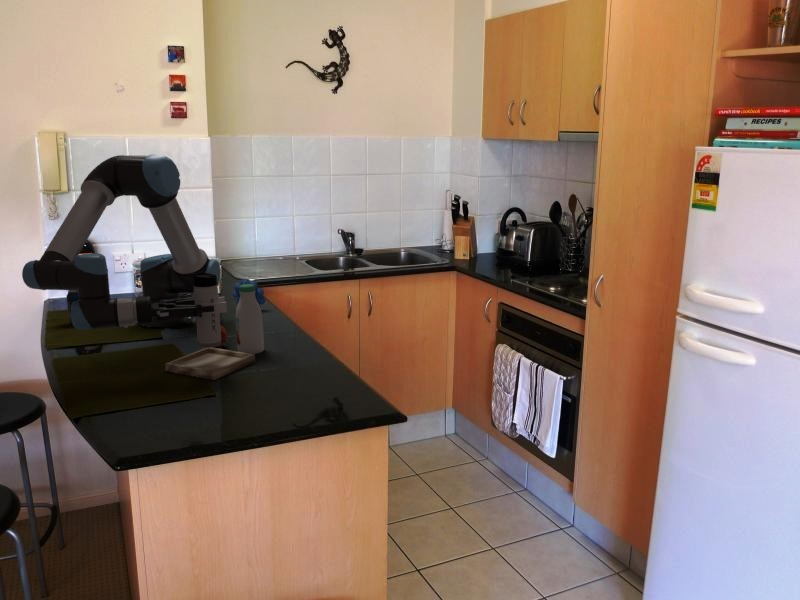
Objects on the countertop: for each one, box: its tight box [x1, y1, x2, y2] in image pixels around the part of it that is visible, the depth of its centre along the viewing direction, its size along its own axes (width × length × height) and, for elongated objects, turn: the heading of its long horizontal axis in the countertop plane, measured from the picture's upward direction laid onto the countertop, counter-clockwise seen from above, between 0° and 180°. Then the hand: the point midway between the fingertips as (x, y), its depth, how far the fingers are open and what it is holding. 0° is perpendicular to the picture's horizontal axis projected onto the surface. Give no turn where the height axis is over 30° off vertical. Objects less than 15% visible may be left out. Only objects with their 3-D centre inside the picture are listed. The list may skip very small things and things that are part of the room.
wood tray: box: [164, 347, 256, 381], centre depth 198 cm, size 17×17×2 cm
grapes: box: [231, 278, 266, 308], centre depth 257 cm, size 12×7×12 cm, turn 94°
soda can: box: [66, 290, 79, 326], centre depth 243 cm, size 7×7×12 cm
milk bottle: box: [235, 284, 265, 355], centre depth 209 cm, size 8×8×20 cm
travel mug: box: [191, 273, 222, 349], centre depth 194 cm, size 6×7×20 cm
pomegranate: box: [212, 324, 230, 349], centre depth 215 cm, size 7×7×10 cm
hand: (225, 304), depth 196 cm, fingers closed on travel mug, 6 cm apart
